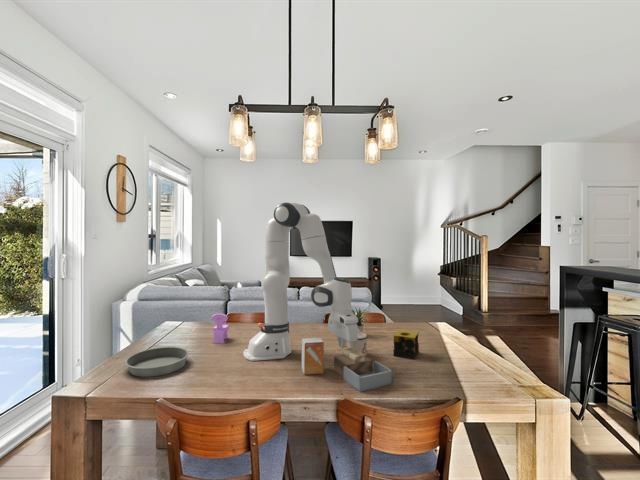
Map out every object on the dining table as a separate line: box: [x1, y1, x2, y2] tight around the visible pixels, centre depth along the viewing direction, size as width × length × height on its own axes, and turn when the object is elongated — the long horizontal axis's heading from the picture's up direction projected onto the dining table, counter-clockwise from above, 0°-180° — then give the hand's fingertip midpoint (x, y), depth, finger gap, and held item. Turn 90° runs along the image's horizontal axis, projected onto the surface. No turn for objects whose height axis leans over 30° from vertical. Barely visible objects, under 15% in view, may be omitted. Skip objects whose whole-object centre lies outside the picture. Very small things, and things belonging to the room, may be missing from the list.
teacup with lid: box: [347, 329, 368, 357], centre depth 161 cm, size 12×9×12 cm
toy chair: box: [211, 313, 229, 344], centre depth 179 cm, size 8×9×15 cm
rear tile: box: [342, 348, 358, 359], centre depth 142 cm, size 4×4×2 cm
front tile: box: [349, 352, 364, 363], centre depth 138 cm, size 4×4×2 cm
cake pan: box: [124, 346, 190, 378], centre depth 145 cm, size 25×25×4 cm
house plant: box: [352, 306, 371, 333], centre depth 189 cm, size 14×14×16 cm
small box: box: [301, 336, 325, 376], centre depth 140 cm, size 8×6×13 cm
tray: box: [343, 360, 395, 393], centre depth 130 cm, size 15×12×5 cm
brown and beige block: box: [333, 354, 374, 377], centre depth 140 cm, size 12×10×6 cm
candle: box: [392, 329, 420, 360], centre depth 160 cm, size 10×10×10 cm
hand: (342, 346), depth 149 cm, fingers closed
